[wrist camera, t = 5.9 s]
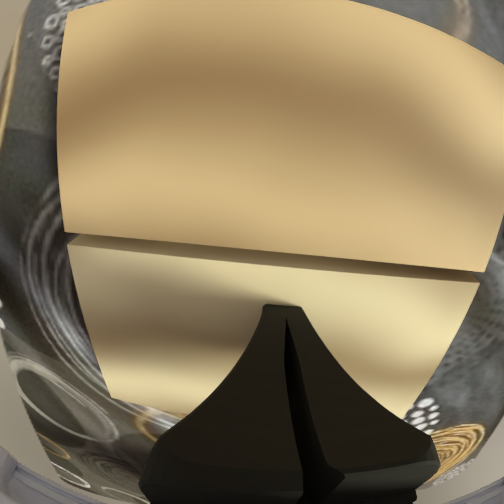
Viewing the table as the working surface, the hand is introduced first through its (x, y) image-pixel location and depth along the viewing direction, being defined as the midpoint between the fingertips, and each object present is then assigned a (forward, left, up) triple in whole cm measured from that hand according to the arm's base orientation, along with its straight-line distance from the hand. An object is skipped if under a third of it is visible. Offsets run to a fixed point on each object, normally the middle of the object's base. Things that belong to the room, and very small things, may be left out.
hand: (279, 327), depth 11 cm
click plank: (-2, 0, -1) cm, 2 cm away
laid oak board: (+7, 0, -1) cm, 7 cm away
